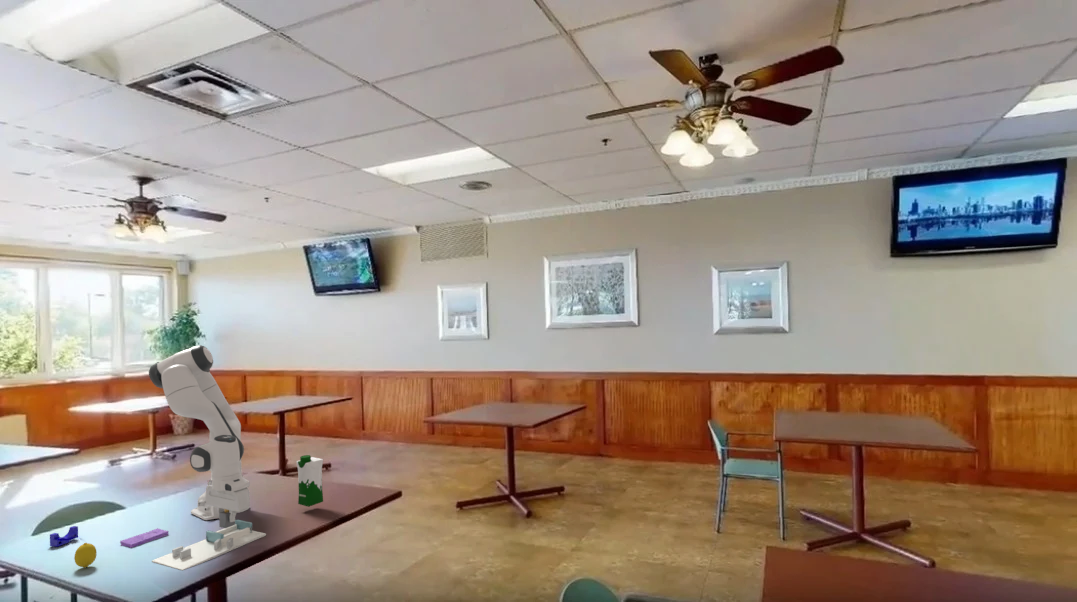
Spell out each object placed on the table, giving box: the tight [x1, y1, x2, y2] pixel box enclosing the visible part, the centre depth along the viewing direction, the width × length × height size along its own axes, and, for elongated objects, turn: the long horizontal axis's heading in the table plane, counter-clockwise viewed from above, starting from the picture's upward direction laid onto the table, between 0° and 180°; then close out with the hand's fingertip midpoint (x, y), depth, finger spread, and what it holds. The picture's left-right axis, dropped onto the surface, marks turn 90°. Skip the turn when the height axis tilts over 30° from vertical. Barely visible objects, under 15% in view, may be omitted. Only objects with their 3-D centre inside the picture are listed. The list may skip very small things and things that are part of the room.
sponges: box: [119, 527, 169, 548], centre depth 202 cm, size 7×13×2 cm, turn 151°
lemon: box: [73, 542, 97, 569], centre depth 180 cm, size 6×6×8 cm
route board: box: [151, 530, 267, 571], centre depth 193 cm, size 16×30×3 cm, turn 154°
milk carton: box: [295, 454, 324, 508], centre depth 236 cm, size 9×9×20 cm
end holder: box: [205, 519, 253, 545], centre depth 201 cm, size 8×12×3 cm, turn 154°
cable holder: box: [49, 525, 79, 548], centre depth 202 cm, size 8×4×4 cm, turn 164°
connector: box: [218, 509, 235, 529], centre depth 201 cm, size 4×4×6 cm
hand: (227, 520), depth 201 cm, fingers closed on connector, 3 cm apart
